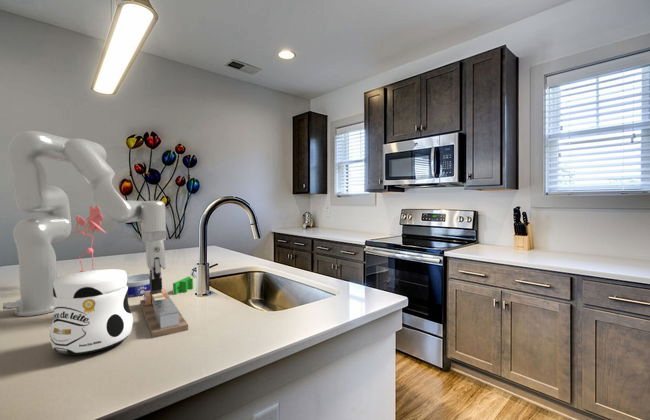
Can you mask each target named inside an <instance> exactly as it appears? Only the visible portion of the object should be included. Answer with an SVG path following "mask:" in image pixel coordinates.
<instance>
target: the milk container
mask: <svg viewBox="0 0 650 420" xmlns="http://www.w3.org/2000/svg"><path fill="white" fill-rule="evenodd" d="M84 271H85V272H80V271H79V272H74V273H73V272H72V273H70V274H68V273H67V274H64V275H62V276H59V277H58V276H57V278H56V279H55V280H54V283H53V295H54V296H53V306H54V311H53V317H52V323H51V325H50V330H49V339H50V345H51V347H52V349H53V350H54V351H55V352H56V353H59V354H61V355H67V356H68V355H69V356H76V355H77V356H78V355H86V354H91V353H95V352H100V351H103V350H106V349H110V348H112V347H114V346H116V345H118V344H120V343H122V342H123V341H124V340H126V339H127V338H128V337H129V335H130V334H131V332H132V330H133V323H134V320H133V318H134V317H133V314H132V310H131V308H130V304H129V298H128V286H127V283H128V282H127V276H128V274H127V271H125V270H124V269H114V268H110V269H108V268H107V269H94V270H93V269H92V270H84Z"/></svg>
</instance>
